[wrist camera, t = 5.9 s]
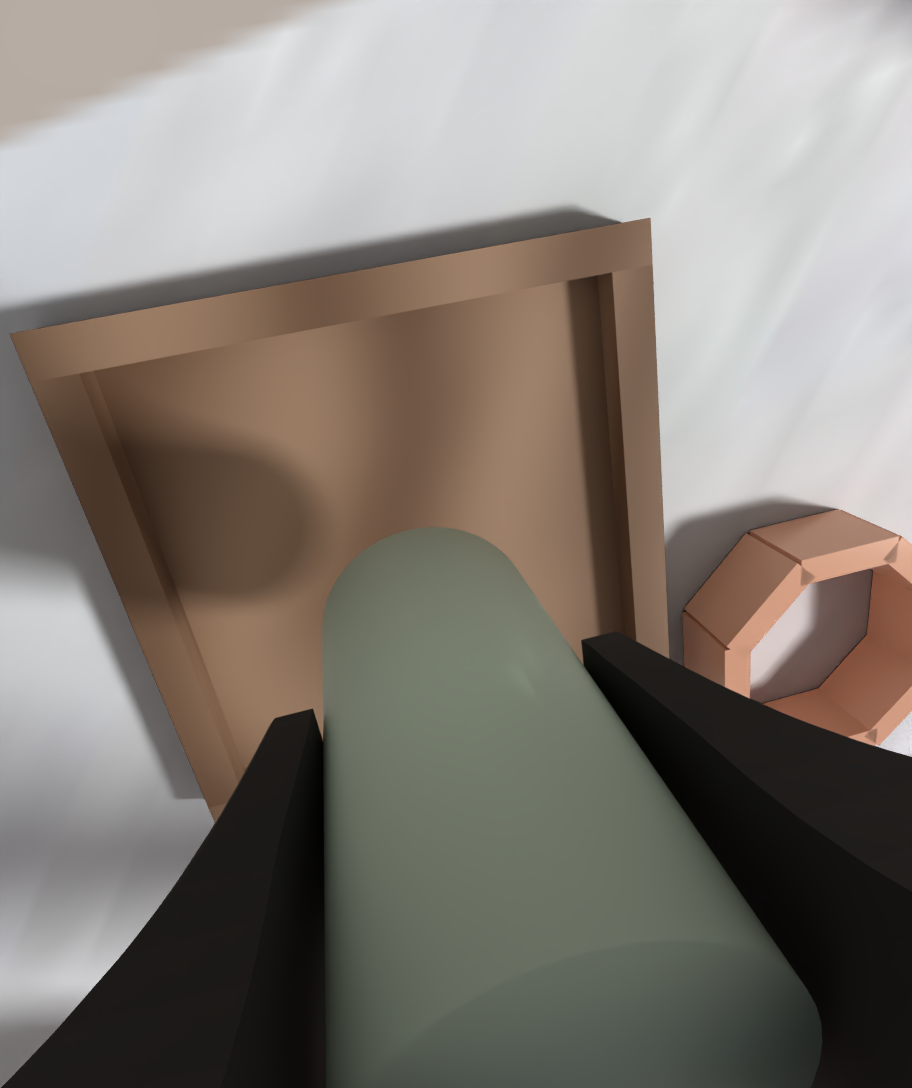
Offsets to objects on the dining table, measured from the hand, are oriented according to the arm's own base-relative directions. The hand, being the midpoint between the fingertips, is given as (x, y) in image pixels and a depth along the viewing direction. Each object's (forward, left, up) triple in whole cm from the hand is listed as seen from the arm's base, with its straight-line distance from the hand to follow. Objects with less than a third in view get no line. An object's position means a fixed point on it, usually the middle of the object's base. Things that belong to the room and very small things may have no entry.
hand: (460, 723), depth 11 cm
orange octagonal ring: (-12, +6, -8) cm, 16 cm away
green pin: (0, 0, -3) cm, 3 cm away
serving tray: (0, 0, -8) cm, 8 cm away
